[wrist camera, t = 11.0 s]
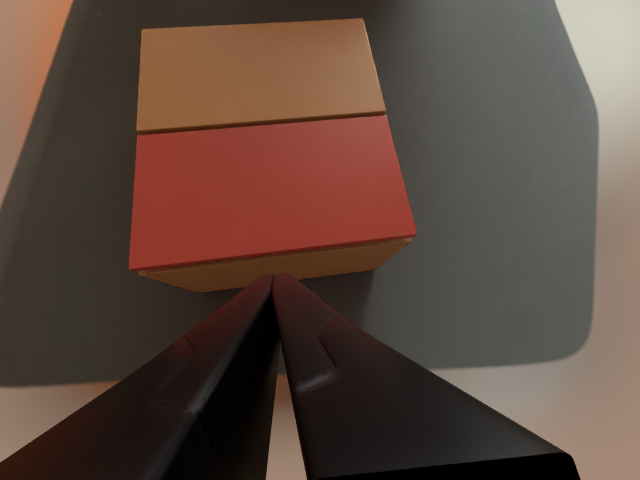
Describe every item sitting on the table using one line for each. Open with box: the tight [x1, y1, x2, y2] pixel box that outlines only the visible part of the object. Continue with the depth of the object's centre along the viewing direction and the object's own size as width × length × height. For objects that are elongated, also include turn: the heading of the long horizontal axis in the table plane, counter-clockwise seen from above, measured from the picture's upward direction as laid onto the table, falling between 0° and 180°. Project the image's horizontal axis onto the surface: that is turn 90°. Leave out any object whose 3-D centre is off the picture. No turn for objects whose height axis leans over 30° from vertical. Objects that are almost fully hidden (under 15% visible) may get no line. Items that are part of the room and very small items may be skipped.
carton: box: [136, 19, 412, 293], centre depth 17 cm, size 13×12×8 cm
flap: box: [129, 115, 417, 271], centre depth 12 cm, size 6×12×1 cm, turn 98°
